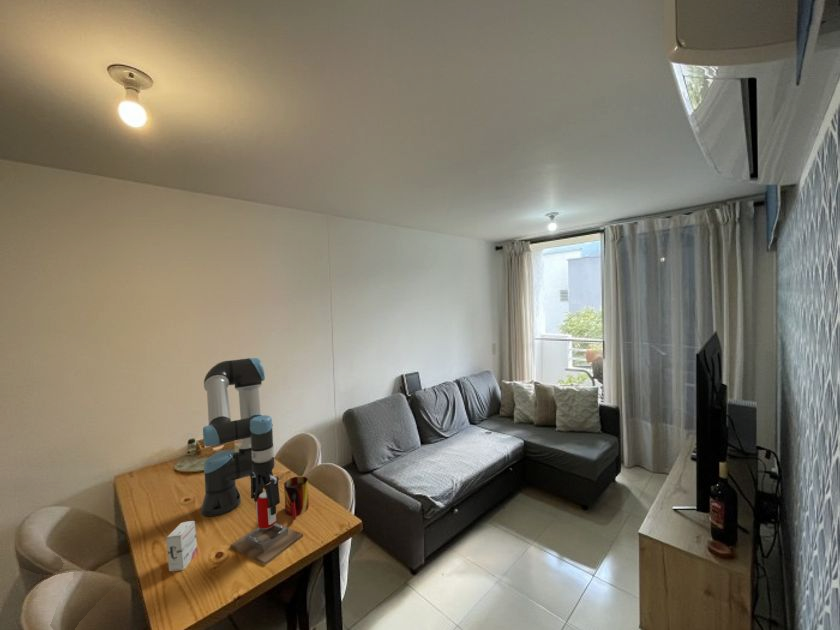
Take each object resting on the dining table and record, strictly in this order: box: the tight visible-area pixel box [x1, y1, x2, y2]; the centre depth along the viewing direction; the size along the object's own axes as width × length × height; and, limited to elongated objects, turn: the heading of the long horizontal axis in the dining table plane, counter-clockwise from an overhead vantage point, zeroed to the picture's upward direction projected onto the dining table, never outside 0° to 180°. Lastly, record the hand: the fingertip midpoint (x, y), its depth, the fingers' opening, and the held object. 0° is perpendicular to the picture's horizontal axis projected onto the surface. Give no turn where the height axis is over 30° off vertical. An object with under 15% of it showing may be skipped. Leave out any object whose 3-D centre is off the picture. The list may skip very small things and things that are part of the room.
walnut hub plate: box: [230, 522, 304, 566], centre depth 125 cm, size 20×16×1 cm
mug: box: [283, 475, 310, 521], centre depth 144 cm, size 10×14×12 cm
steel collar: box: [245, 522, 289, 552], centre depth 125 cm, size 10×10×3 cm
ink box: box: [165, 520, 198, 572], centre depth 117 cm, size 9×5×12 cm, turn 5°
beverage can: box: [257, 491, 277, 529], centre depth 125 cm, size 6×6×12 cm
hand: (266, 519), depth 125 cm, fingers closed on beverage can, 6 cm apart
